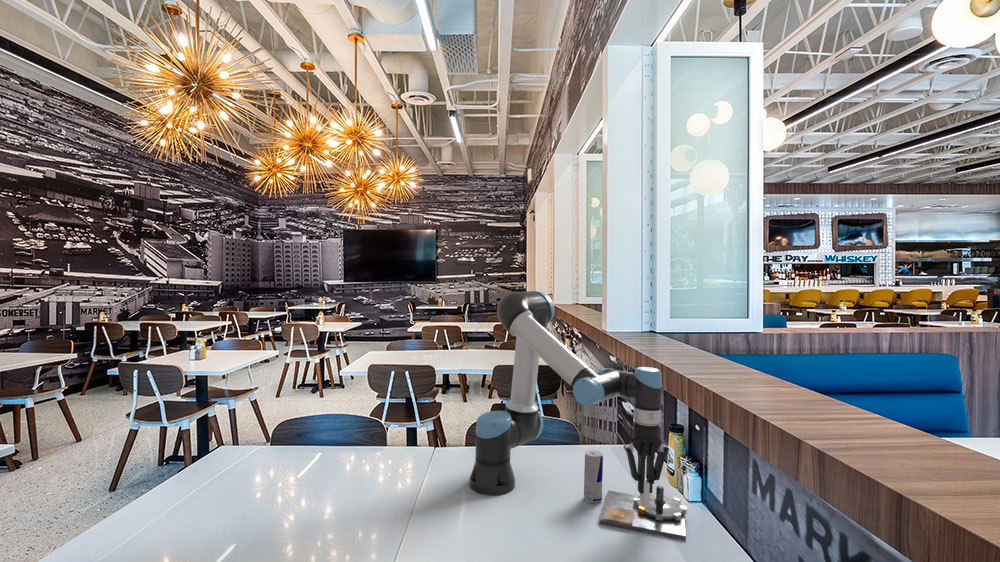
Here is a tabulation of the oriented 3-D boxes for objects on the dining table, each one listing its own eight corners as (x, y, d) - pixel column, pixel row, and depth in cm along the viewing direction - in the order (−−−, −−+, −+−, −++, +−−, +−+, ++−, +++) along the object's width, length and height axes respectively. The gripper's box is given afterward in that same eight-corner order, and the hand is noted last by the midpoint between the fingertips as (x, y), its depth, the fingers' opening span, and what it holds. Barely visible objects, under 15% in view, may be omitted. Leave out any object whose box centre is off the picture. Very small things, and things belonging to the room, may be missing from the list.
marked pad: (603, 520, 138) (603, 517, 138) (606, 507, 146) (606, 505, 146) (632, 525, 136) (632, 523, 136) (634, 512, 143) (634, 510, 143)
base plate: (599, 523, 139) (599, 519, 139) (607, 493, 158) (608, 490, 158) (685, 540, 131) (685, 536, 131) (683, 506, 150) (683, 503, 150)
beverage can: (601, 505, 150) (603, 456, 150) (583, 502, 151) (584, 455, 151) (601, 496, 155) (603, 450, 155) (584, 494, 157) (585, 448, 156)
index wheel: (631, 515, 141) (632, 486, 141) (635, 493, 155) (636, 466, 155) (687, 525, 136) (688, 495, 136) (685, 501, 150) (686, 474, 150)
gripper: (629, 426, 135) (627, 510, 136) (674, 426, 136) (672, 509, 137) (620, 418, 142) (618, 498, 143) (663, 418, 144) (660, 497, 144)
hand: (644, 503), depth 140 cm, fingers closed
